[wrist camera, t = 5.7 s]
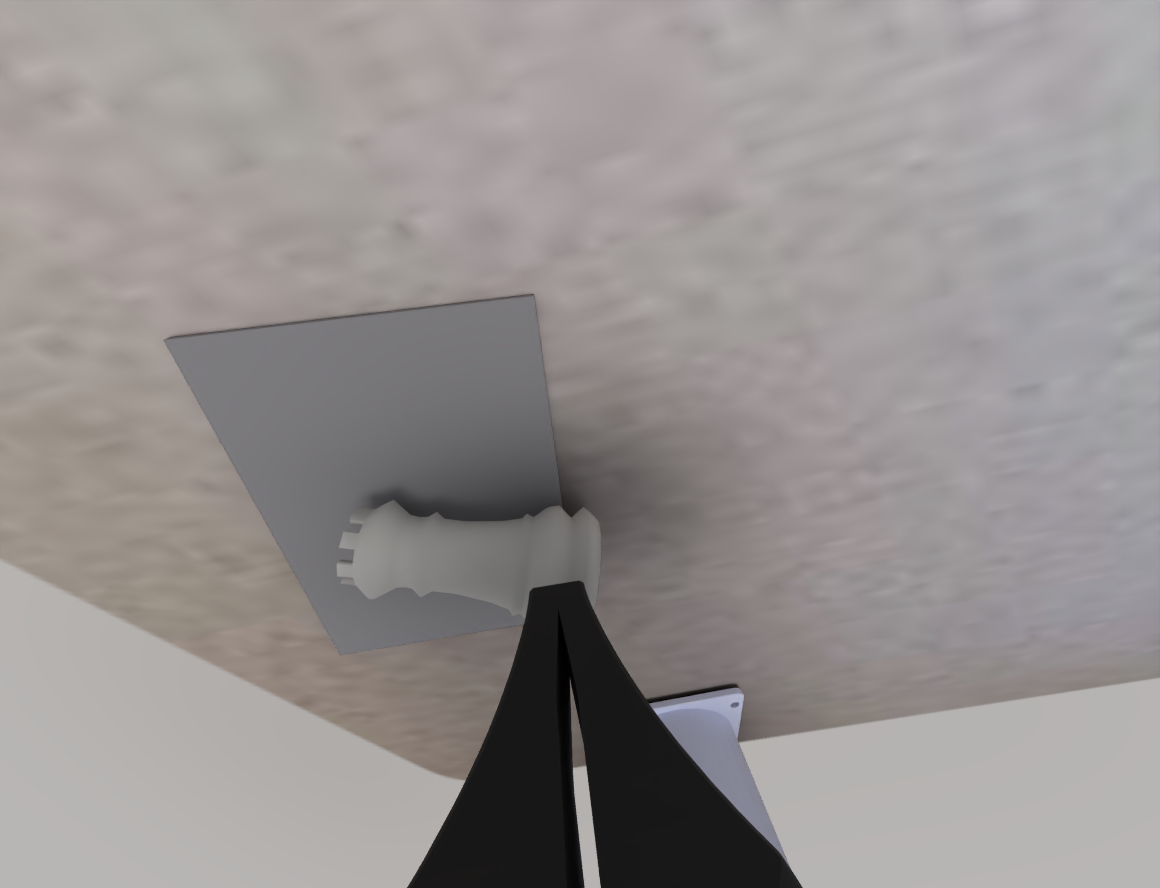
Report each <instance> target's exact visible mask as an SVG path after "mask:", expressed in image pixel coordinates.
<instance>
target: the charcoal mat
mask: <svg viewBox="0 0 1160 888" xmlns="http://www.w3.org/2000/svg"><path fill="white" fill-rule="evenodd" d="M164 342H165V344H166V346H167V348H168V349H169V351H170V353H171V355H172V357H173V358H174V360H175V362H176V364H177V365H178V367H179V369H180V371H181V373H182V374H183V376H184V378H185V380H186V381H187V383H188V385H189V387H190V389H191V390H192V392H193V394H194V396H195V398H196V399H197V401H198V403H199V405H200V406H201V408H202V410H203V412H204V414H205V415H206V417H207V419H208V421H209V423H210V424H211V426H212V428H213V430H214V431H215V433H216V435H217V437H218V439H219V440H220V442H221V444H222V446H223V448H224V449H225V451H226V453H227V455H228V456H229V458H230V460H231V462H232V464H233V465H234V467H235V469H236V471H237V472H238V474H239V476H240V478H241V480H242V481H243V483H244V485H245V487H246V489H247V490H248V492H249V494H250V496H251V497H252V499H253V501H254V503H255V505H256V506H257V508H258V510H259V512H260V514H261V515H262V517H263V519H264V521H265V522H266V524H267V526H268V528H269V530H270V531H271V533H272V535H273V537H274V538H275V540H276V542H277V544H278V546H279V547H280V549H281V551H282V553H283V555H284V556H285V558H286V560H287V562H288V563H289V565H290V567H291V569H292V571H293V572H294V574H295V576H296V578H297V580H298V581H299V583H300V585H301V587H302V588H303V590H304V592H305V594H306V596H307V597H308V599H309V601H310V603H311V604H312V606H313V608H314V610H315V612H316V613H317V615H318V617H319V619H320V621H321V622H322V624H323V626H324V628H325V629H326V631H327V633H328V635H329V637H330V638H331V640H332V642H333V644H334V646H335V647H336V649H337V651H338V653H339V654H340V655H345V654H351V653H357V652H363V651H368V650H374V649H380V648H386V647H392V646H398V645H404V644H410V643H416V642H422V641H428V640H433V639H439V638H445V637H451V636H457V635H463V634H469V633H475V632H481V631H487V630H493V629H498V628H504V627H510V626H516V625H522V624H524V622H525V619H524V618H523V617H522V615H521V614H518V615H514V616H512V614H511V613H510V611H509V610H508V609H506V608H503V607H501V606H498V605H496V604H493V603H490V602H486V601H482V600H478V599H474V598H470V597H466V596H462V595H458V594H452V593H443V592H433V591H432V592H430V593H428V594H426V595H425V596H423V597H419V596H418V595H417V593H416V592H415V591H414V590H413V589H411V588H407V587H400V588H395V589H393V590H391V591H389V592H387V593H385V594H383V595H381V596H379V597H378V598H376V599H368V598H367V597H366V596H365V595H364V594H363V593H362V591H361V590H360V589H359V588H358V587H357V586H356V585H348V584H340V583H341V581H342V578H343V577H338V576H337V563H338V562H339V561H340V560H341V559H344V560H353V557H354V549H345V548H339V546H340V542H341V539H342V535H343V532H350V533H359V532H360V530H361V527H362V526H358V525H351V524H350V517H351V516H352V514H353V513H354V512H355V510H361V508H362V507H365V508H373V509H376V508H378V507H380V506H382V505H384V504H386V503H388V502H390V501H392V500H395V501H396V502H397V503H398V504H399V505H400V506H401V507H402V508H403V509H405V510H406V511H407V512H408V513H409V514H410V515H413V516H417V517H429V516H431V515H432V514H434V513H436V512H438V513H439V514H440V515H441V516H442V517H443V518H444V519H451V520H459V521H506V520H513V519H520V518H523V517H524V516H525V515H526V514H528V515H530V516H532V517H534V516H536V515H537V514H539V513H540V512H542V511H543V510H544V509H546V508H547V507H552V506H558V505H559V506H560V507H561V508H562V509H563V505H562V497H561V490H560V483H559V476H558V468H557V461H556V454H555V446H554V439H553V432H552V425H551V417H550V410H549V403H548V395H547V388H546V381H545V374H544V366H543V359H542V352H541V344H540V337H539V330H538V323H537V315H536V308H535V301H534V294H530V295H522V296H513V297H505V298H497V299H488V300H480V301H471V302H463V303H454V304H446V305H438V306H429V307H421V308H412V309H404V310H396V311H387V312H379V313H370V314H362V315H353V316H345V317H337V318H328V319H320V320H311V321H303V322H294V323H286V324H278V325H269V326H261V327H252V328H244V329H235V330H227V331H219V332H210V333H202V334H193V335H185V336H177V337H170V338H167V339H165V340H164Z"/></svg>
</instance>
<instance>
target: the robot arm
mask: <svg viewBox="0 0 1160 888" xmlns="http://www.w3.org/2000/svg"><path fill="white" fill-rule="evenodd" d="M570 680H571V685H572V690H573V695H574V700H575V704H576V709H577V714H578V719H579V724H580V728H581V733H582V738H583V743H584V750H585V758H586V766H587V774H588V783H589V791H590V799H591V807H592V816H593V825H594V833H595V841H596V850H597V859H598V867H599V876H600V884H601V888H802V886H801V884H800V883H799V881H798V880H797V878H796V876H795V875H794V873H793V872H792V870H791V868H790V866H789V864H788V861H787V859H786V856H785V854H784V851H783V849H782V847H781V844H780V842H779V839H778V837H777V835H776V832H775V830H774V827H773V825H772V823H771V820H770V818H769V815H768V813H767V811H766V808H765V806H764V803H763V801H762V798H761V796H760V794H759V791H758V789H757V786H756V784H755V781H754V779H753V777H752V774H751V772H750V769H749V767H748V764H747V762H746V760H745V757H744V755H743V752H742V750H741V748H740V745H739V743H738V740H737V739H738V732H739V726H740V719H741V713H742V706H743V700H744V695H743V693H742V691H741V690H740V689H739V688H730V689H725V690H719V691H714V692H709V693H703V694H698V695H692V696H687V697H681V698H676V699H671V700H665V701H660V702H654V703H648V702H647V700H646V699H645V697H644V696H643V694H642V693H641V691H640V690H639V689H638V687H637V686H636V684H635V683H634V681H633V679H632V678H631V676H630V675H629V673H628V672H627V670H626V669H625V667H624V665H623V664H622V662H621V660H620V659H619V657H618V656H617V654H616V652H615V650H614V649H613V647H612V645H611V643H610V641H609V640H608V638H607V636H606V634H605V632H604V630H603V629H602V627H601V625H600V623H599V621H598V618H597V616H596V614H595V612H594V610H593V608H592V605H591V603H590V600H589V598H588V595H587V592H586V589H585V585H584V583H583V582H581V581H580V580H578V581H572V582H566V583H560V584H554V585H548V586H542V587H536V588H532V590H531V591H530V592H529V600H528V606H527V612H526V617H525V622H524V626H523V630H522V634H521V638H520V642H519V645H518V649H517V652H516V655H515V659H514V662H513V666H512V669H511V672H510V675H509V678H508V680H507V683H506V686H505V689H504V692H503V694H502V697H501V700H500V703H499V706H498V708H497V711H496V713H495V716H494V718H493V721H492V723H491V726H490V728H489V731H488V733H487V735H486V738H485V740H484V742H483V744H482V747H481V749H480V751H479V754H478V756H477V758H476V760H475V762H474V764H473V766H472V768H471V771H470V773H469V775H468V777H467V779H466V781H465V783H464V785H463V787H462V789H461V792H460V793H459V795H458V797H457V799H456V801H455V803H454V805H453V807H452V809H451V811H450V813H449V814H448V816H447V818H446V820H445V822H444V824H443V826H442V827H441V829H440V831H439V833H438V835H437V836H436V838H435V840H434V842H433V844H432V846H431V848H430V850H429V851H428V853H427V855H426V857H425V858H424V860H423V862H422V864H421V865H420V867H419V869H418V871H417V872H416V874H415V876H414V877H413V879H412V881H411V882H410V884H409V886H408V887H407V888H584V879H583V870H582V861H581V852H580V843H579V833H578V824H577V815H576V805H575V797H574V782H573V762H572V732H571V701H570Z"/></svg>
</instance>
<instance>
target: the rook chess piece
mask: <svg viewBox="0 0 1160 888" xmlns="http://www.w3.org/2000/svg"><path fill="white" fill-rule="evenodd" d="M350 524H351V525H358V526H362V527H361V530H360V532H359V533H350V532H343V535H342V539H341V542H340V546H339V548H345V549H354V557H353V560H344V559H341V560H340V561H339V562H338V563H337V576H338V577H343V578H342V581H341V583H340V584H348V585H356V586H357V587H358V588H359V589H360V590H361V591H362V593H363V594H364V595H365V596H366V597H367V598H368V599H376V598H378V597H379V596H381V595H383V594H385V593H387V592H389V591H391V590H393V589H395V588H400V587H407V588H411V589H413V590H414V591H415V592H416V593H417V595H418V596H419V597H423V596H425V595H426V594H428V593H430V592H432V591H433V592H443V593H452V594H458V595H462V596H466V597H470V598H474V599H478V600H482V601H486V602H490V603H493V604H496V605H498V606H501V607H503V608H506V609H508V610H509V611H510V613H511V614H512V616H514V615H518V614H521V615H522V617H523V618H524V619H525V617H526V612H527V606H528V600H529V592H530V591H531V590H532V588H536V587H542V586H548V585H554V584H560V583H566V582H572V581H578V580H580V581H581V582H583V583H584V585H585V589H586V592H587V595H588V598H589V600H590V603H591V605H592V608H593V610H594V608H595V604H596V598H597V591H598V585H599V577H600V564H601V532H600V526H599V521H598V520H597V519H596V517H595V516H594V515H592V514H591V513H590V512H589V511H588V510H587V509H586V508H585V507H582V508H581V509H580V510H579V511H578V512H577V513H576V514H575V515H574V516H572V517H570V516H569V515H568V514H567V513H566V512H565V511H564V510H563V509H562V508H561V507H560V506H559V505H558V506H552V507H547V508H546V509H544V510H543V511H542V512H540V513H539V514H537V515H536V516H534V517H532V516H530V515H528V514H526V515H525V516H524V517H523V518H520V519H513V520H506V521H459V520H451V519H444V518H443V517H442V516H441V515H440V514H439V513H438V512H436V513H434V514H432V515H431V516H429V517H417V516H413V515H410V514H409V513H408V512H407V511H406V510H405V509H403V508H402V507H401V506H400V505H399V504H398V503H397V502H396V501H395V500H392V501H390V502H388V503H386V504H384V505H382V506H380V507H378V508H376V509H373V508H365V507H362V508H361V510H355V512H354V513H353V514H352V516H351V517H350Z"/></svg>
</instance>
